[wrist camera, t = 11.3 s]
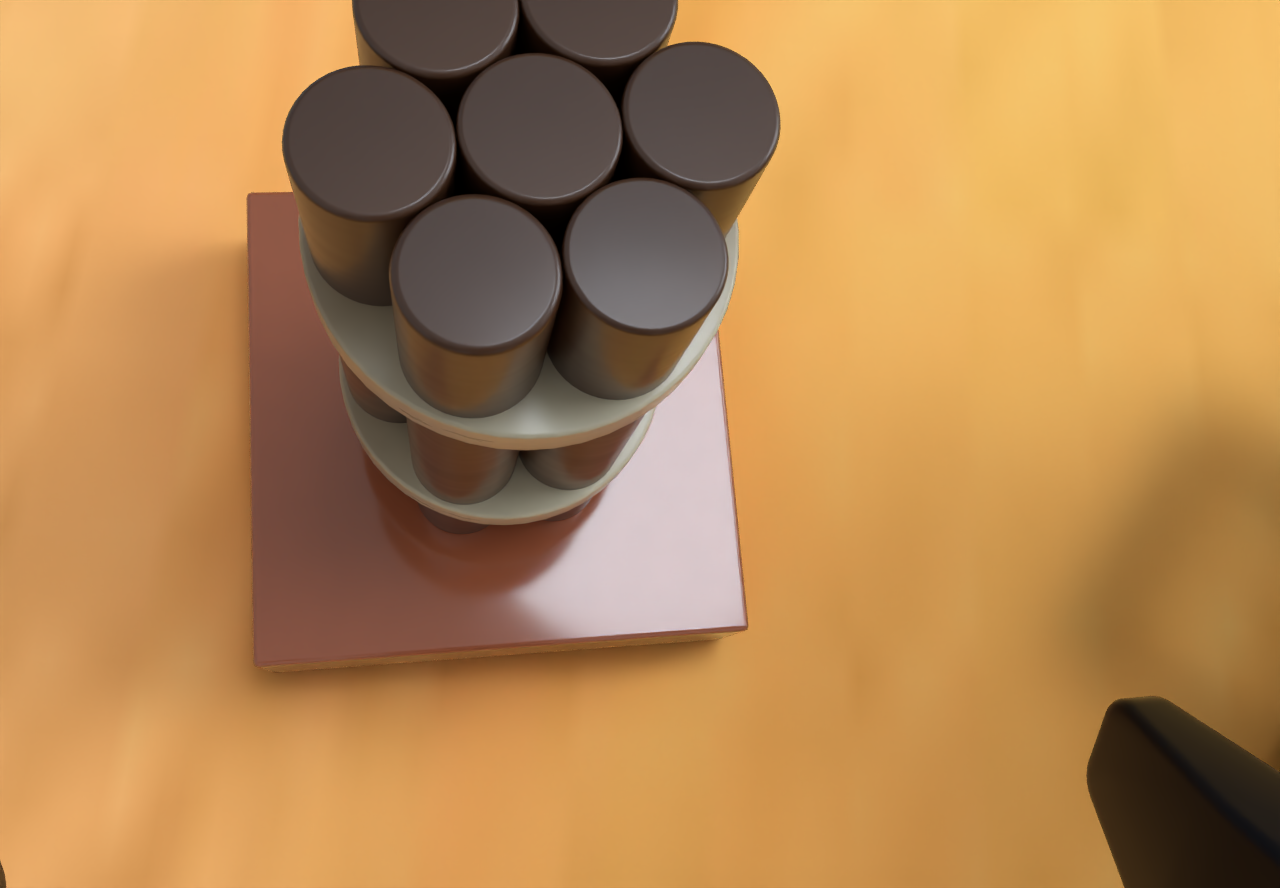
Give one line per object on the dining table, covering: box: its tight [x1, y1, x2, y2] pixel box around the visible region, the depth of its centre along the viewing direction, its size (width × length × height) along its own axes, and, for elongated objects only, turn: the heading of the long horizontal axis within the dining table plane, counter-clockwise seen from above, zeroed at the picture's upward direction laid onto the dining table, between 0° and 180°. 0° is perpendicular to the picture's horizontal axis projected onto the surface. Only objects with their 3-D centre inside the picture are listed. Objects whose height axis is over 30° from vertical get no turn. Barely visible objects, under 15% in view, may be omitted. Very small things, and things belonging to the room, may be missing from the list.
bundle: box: [282, 0, 780, 534], centre depth 16 cm, size 5×5×10 cm
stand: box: [247, 192, 748, 672], centre depth 21 cm, size 8×8×2 cm
